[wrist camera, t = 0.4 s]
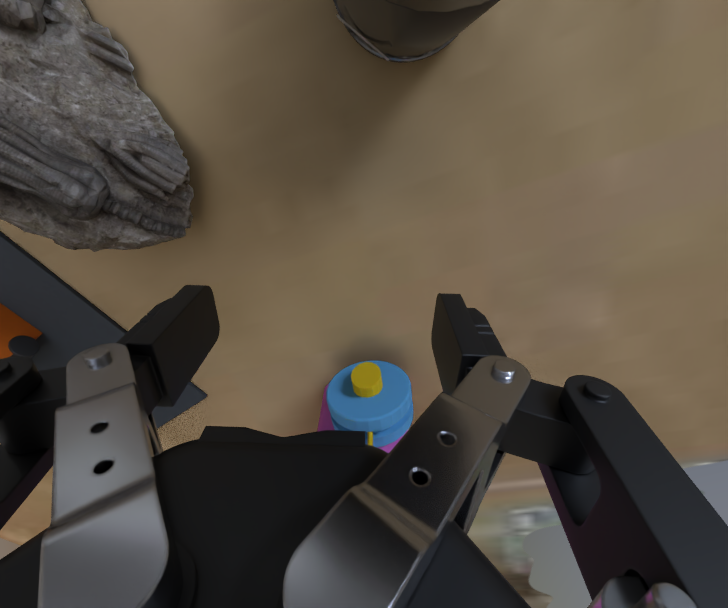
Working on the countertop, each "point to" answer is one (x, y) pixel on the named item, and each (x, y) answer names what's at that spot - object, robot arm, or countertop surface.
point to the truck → (16, 335)
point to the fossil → (82, 136)
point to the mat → (64, 318)
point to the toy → (369, 403)
